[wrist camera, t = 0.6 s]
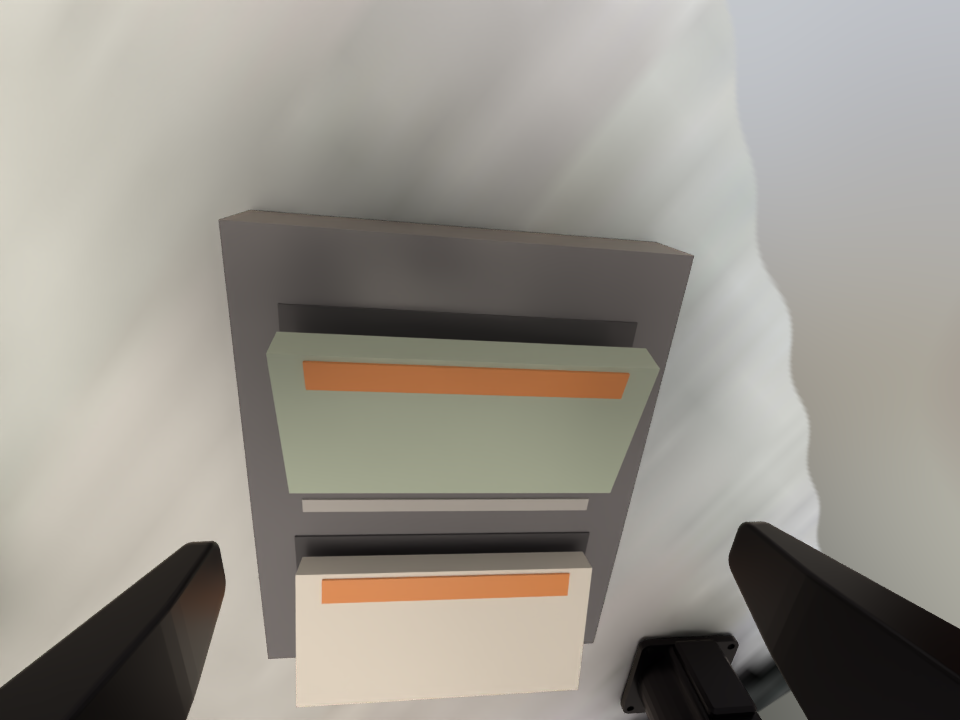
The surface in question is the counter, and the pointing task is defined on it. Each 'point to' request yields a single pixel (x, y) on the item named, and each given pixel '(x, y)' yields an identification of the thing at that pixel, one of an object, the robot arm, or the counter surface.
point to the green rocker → (454, 413)
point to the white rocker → (438, 625)
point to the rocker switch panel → (435, 315)
